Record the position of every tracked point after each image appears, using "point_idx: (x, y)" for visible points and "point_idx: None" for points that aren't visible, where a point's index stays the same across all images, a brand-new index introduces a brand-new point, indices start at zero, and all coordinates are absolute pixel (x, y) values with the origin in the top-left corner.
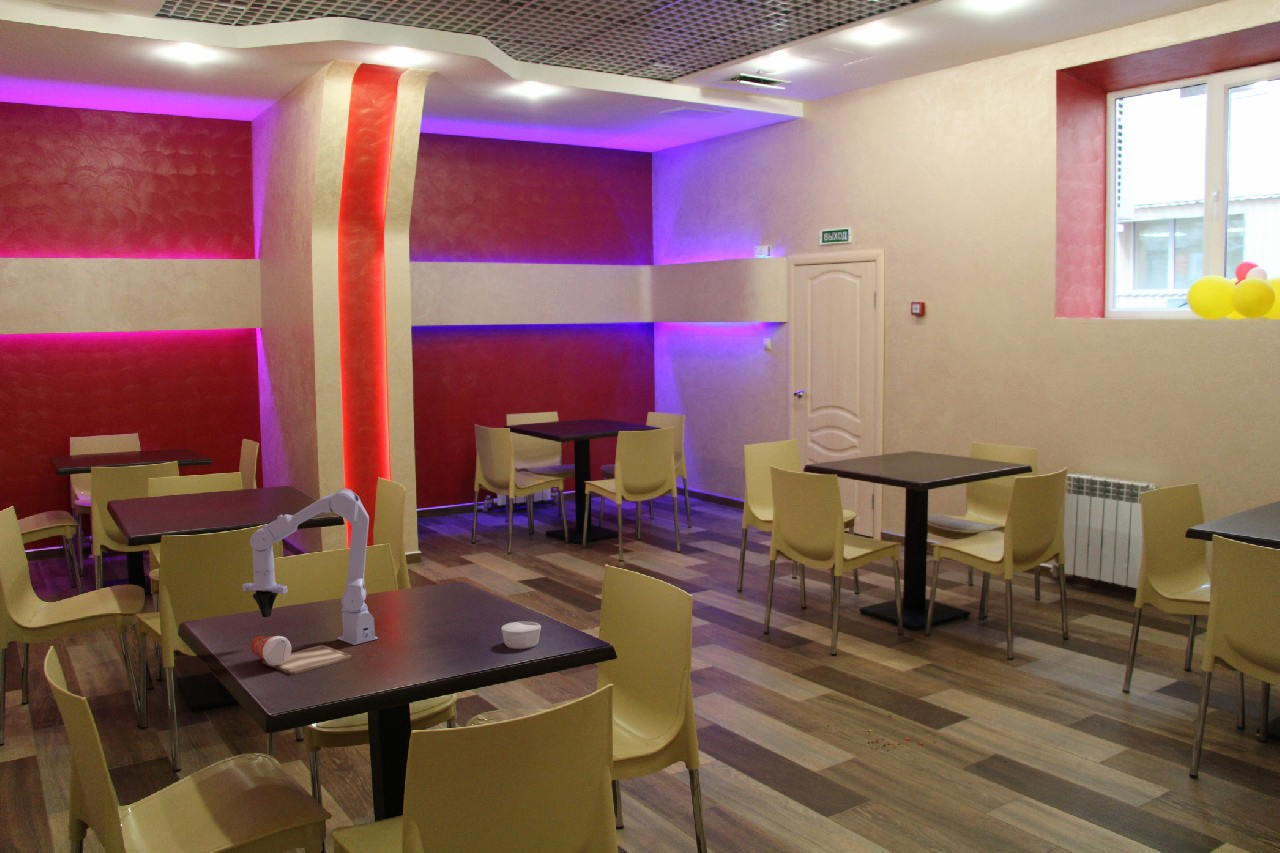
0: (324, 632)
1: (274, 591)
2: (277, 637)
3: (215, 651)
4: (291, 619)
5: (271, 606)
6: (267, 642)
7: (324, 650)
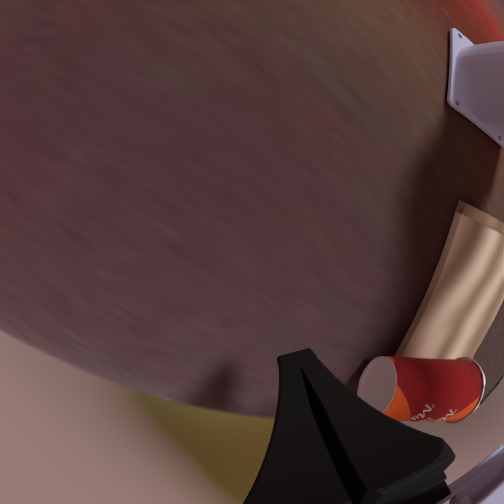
0: (336, 28)
1: (462, 487)
2: (474, 409)
3: (166, 394)
4: (36, 4)
5: (342, 393)
6: (454, 421)
7: (486, 240)
